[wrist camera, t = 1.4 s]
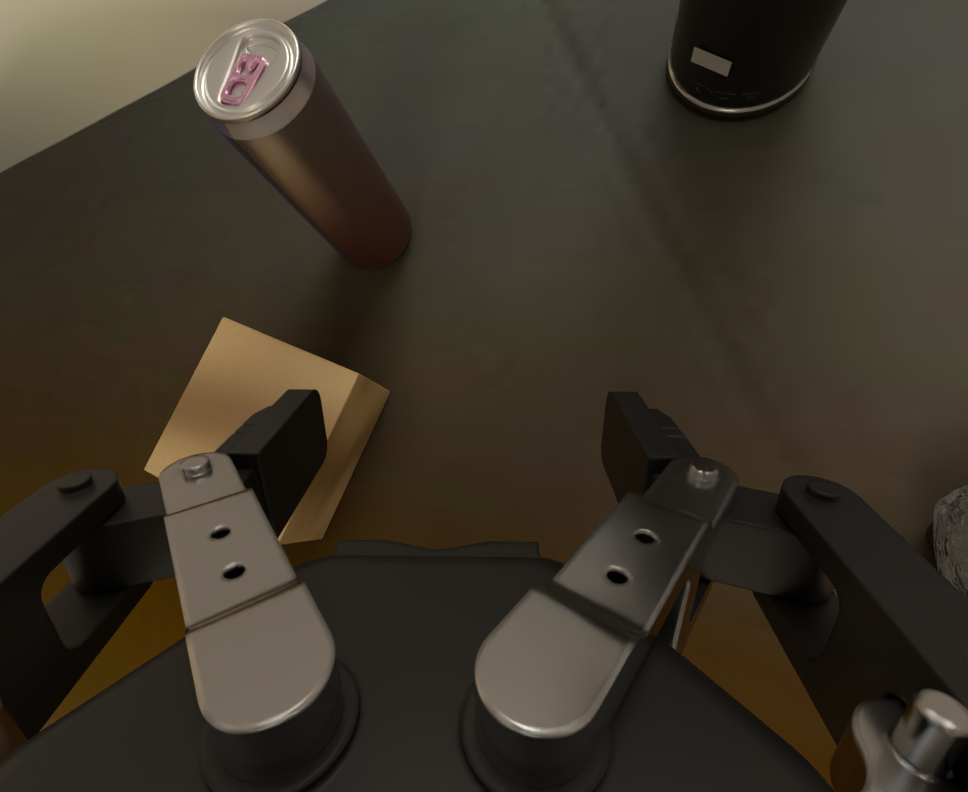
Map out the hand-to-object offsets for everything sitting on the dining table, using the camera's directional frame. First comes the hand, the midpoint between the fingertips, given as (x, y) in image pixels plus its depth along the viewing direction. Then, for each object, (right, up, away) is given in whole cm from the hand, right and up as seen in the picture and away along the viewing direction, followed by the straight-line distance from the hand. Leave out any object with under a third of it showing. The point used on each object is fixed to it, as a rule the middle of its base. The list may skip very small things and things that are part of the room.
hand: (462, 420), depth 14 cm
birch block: (-13, -2, +21) cm, 25 cm away
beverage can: (-8, +13, +24) cm, 28 cm away
